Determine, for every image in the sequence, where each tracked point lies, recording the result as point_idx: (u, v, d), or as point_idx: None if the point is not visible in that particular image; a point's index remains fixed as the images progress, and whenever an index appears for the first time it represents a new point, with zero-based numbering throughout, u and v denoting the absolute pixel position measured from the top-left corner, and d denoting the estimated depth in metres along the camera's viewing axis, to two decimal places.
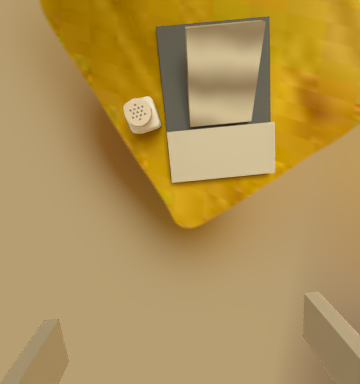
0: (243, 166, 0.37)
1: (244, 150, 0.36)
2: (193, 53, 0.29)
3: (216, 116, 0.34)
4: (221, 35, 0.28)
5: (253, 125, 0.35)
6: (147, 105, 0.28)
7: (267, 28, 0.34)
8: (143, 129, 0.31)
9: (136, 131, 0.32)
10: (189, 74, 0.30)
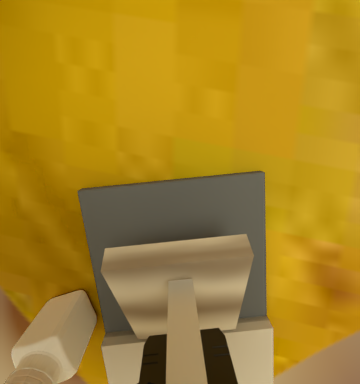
0: None
1: None
2: (122, 290, 0.16)
3: None
4: (170, 272, 0.15)
5: (239, 334, 0.22)
6: None
7: (261, 189, 0.21)
8: None
9: None
10: (122, 305, 0.17)
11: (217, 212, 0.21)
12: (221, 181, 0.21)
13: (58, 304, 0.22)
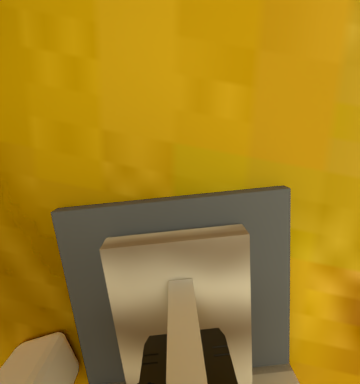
0: None
1: None
2: (118, 284, 0.15)
3: None
4: (167, 255, 0.14)
5: None
6: None
7: (286, 210, 0.16)
8: None
9: None
10: (115, 315, 0.15)
11: None
12: (235, 199, 0.16)
13: (27, 354, 0.17)
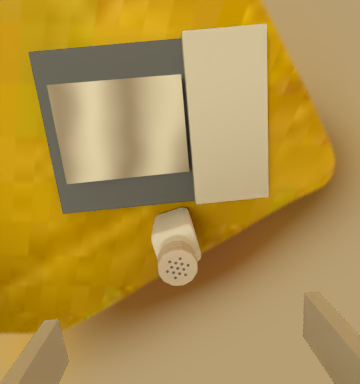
0: (252, 83, 0.22)
1: (226, 83, 0.22)
2: (91, 174, 0.23)
3: (173, 134, 0.23)
4: (68, 141, 0.22)
5: (187, 69, 0.22)
6: (167, 254, 0.18)
7: (45, 53, 0.23)
8: (196, 246, 0.22)
9: (199, 255, 0.22)
10: (116, 177, 0.23)
11: None
12: (41, 93, 0.23)
13: None
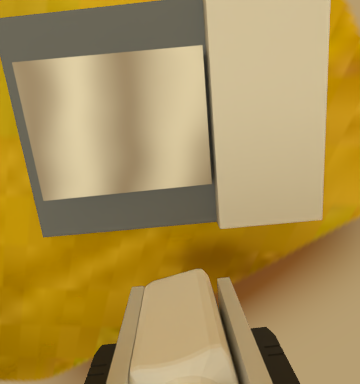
0: (305, 58, 0.15)
1: (268, 58, 0.15)
2: (77, 187, 0.17)
3: (190, 131, 0.16)
4: (43, 142, 0.16)
5: (212, 38, 0.15)
6: None
7: (14, 21, 0.16)
8: None
9: None
10: (110, 191, 0.17)
11: None
12: (11, 77, 0.17)
13: None
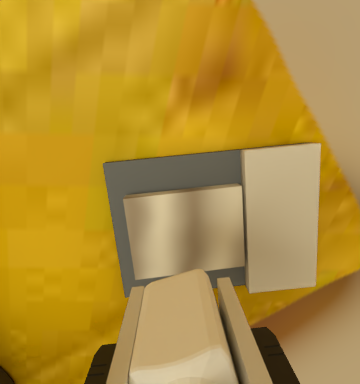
0: (305, 192, 0.25)
1: (282, 192, 0.25)
2: (158, 271, 0.26)
3: (232, 235, 0.25)
4: (138, 244, 0.25)
5: (248, 182, 0.24)
6: None
7: (117, 164, 0.25)
8: None
9: None
10: (179, 273, 0.26)
11: None
12: (112, 197, 0.26)
13: None
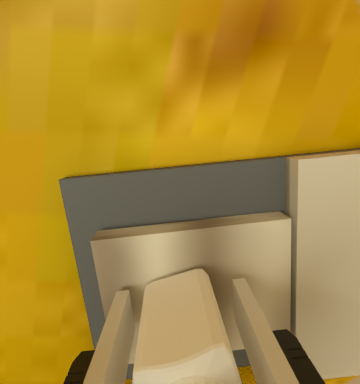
0: None
1: (357, 229, 0.15)
2: None
3: (272, 297, 0.16)
4: None
5: (301, 212, 0.14)
6: None
7: (83, 182, 0.15)
8: None
9: None
10: None
11: None
12: (76, 234, 0.16)
13: None
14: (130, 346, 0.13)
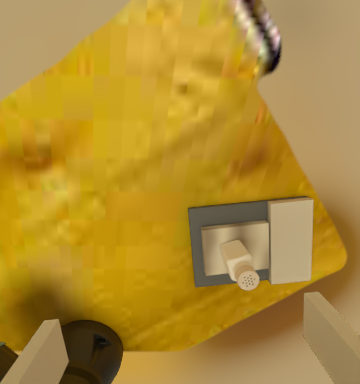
0: (304, 226, 0.43)
1: (291, 226, 0.43)
2: (218, 270, 0.44)
3: (262, 250, 0.44)
4: (208, 255, 0.43)
5: (272, 220, 0.43)
6: (244, 273, 0.34)
7: (196, 210, 0.43)
8: (253, 267, 0.37)
9: None
10: None
11: None
12: (192, 228, 0.44)
13: (222, 258, 0.42)
14: None
